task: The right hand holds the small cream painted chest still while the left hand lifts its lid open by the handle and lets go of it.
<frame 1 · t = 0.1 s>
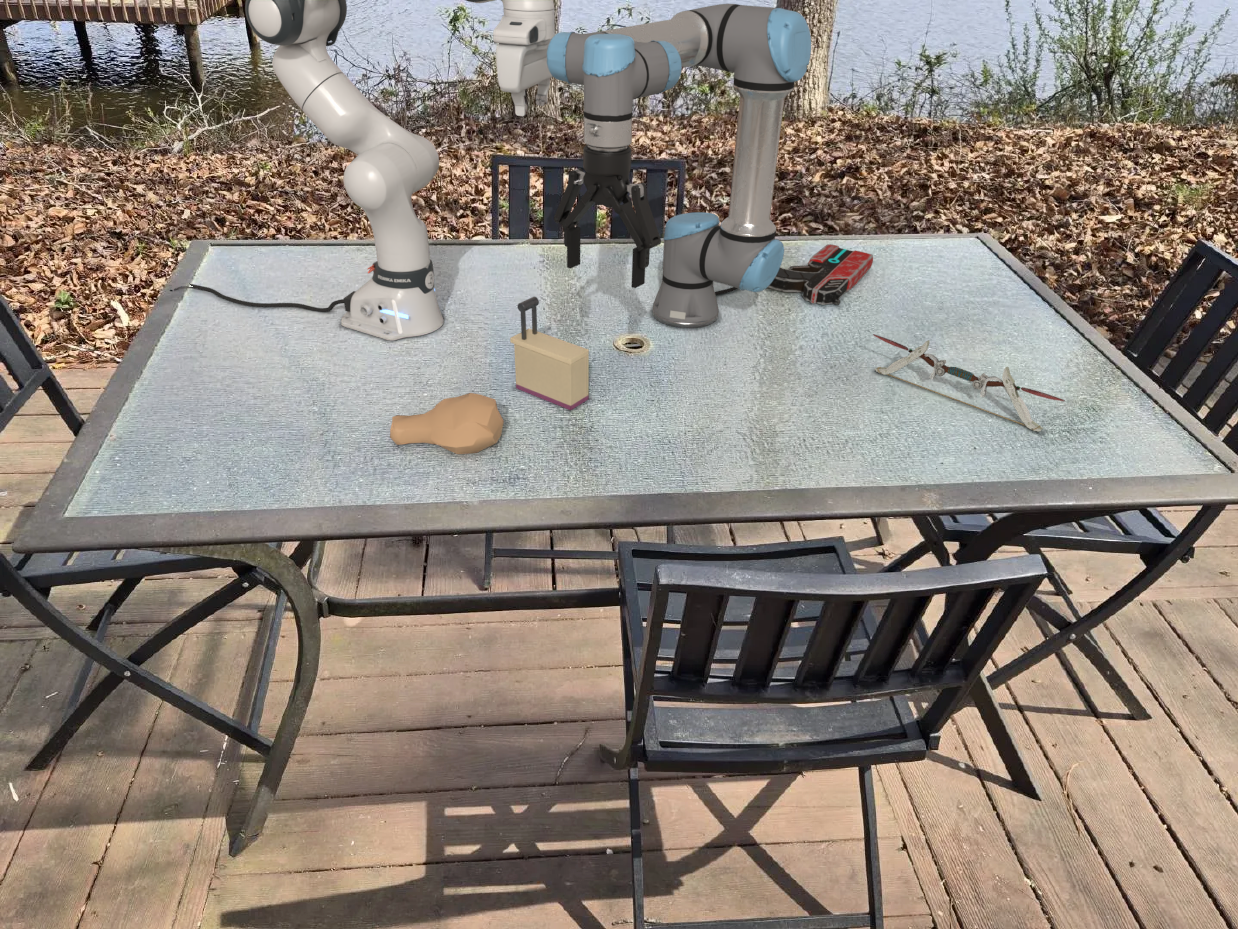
left hand: (531, 109, 161), 48 cm above the table, tool pointing down, fingers open, 8 cm apart
right hand: (605, 275, 148), 28 cm above the table, tool pointing down, fingers open, 13 cm apart
lid: (548, 327, 163), point 14 cm above the table, hinge at 0.0°
chest: (552, 393, 171), on the table
squash: (448, 444, 155), on the table
gun: (820, 281, 223), on the table
bow: (953, 400, 173), on the table
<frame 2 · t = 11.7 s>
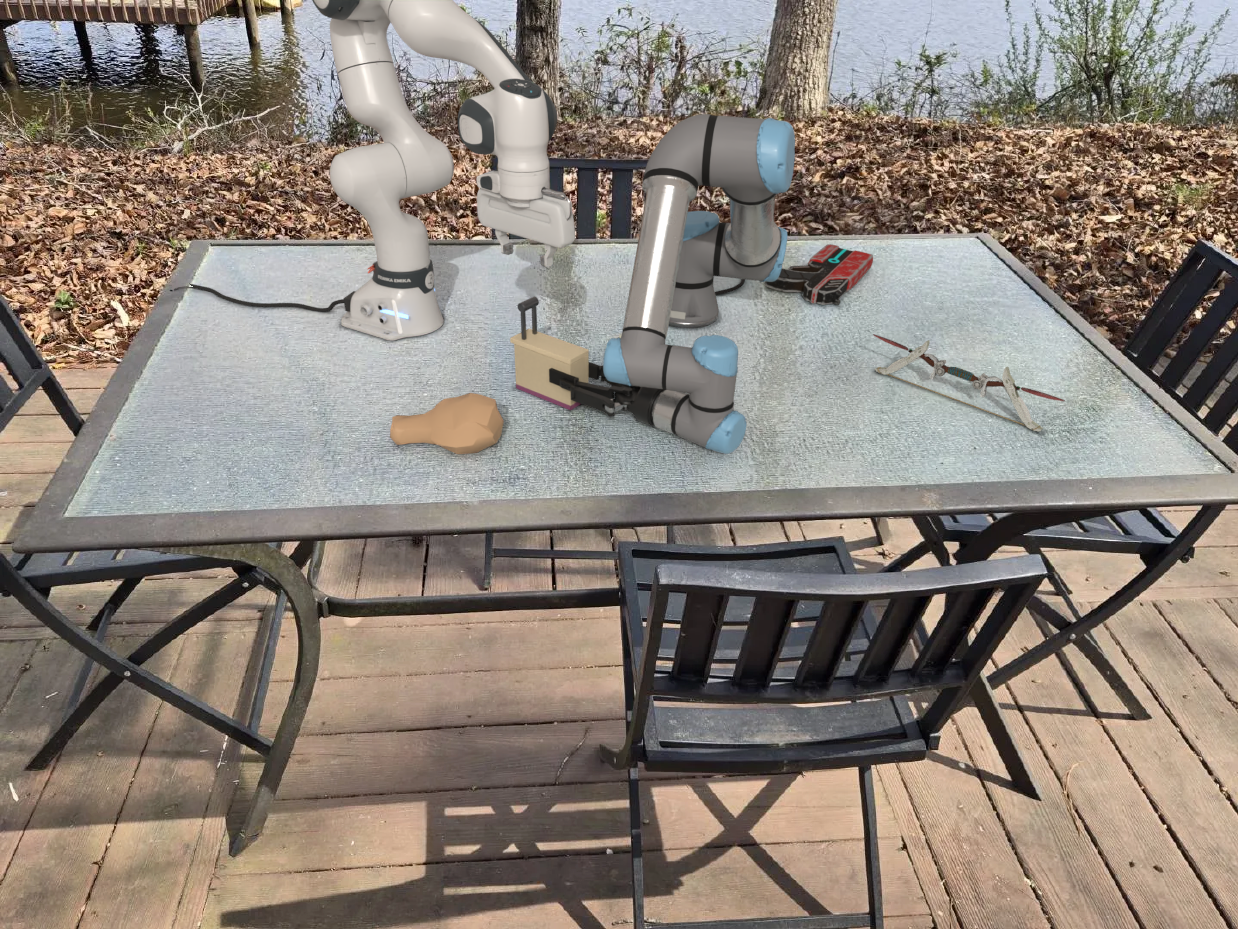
left hand: (526, 259, 159), 26 cm above the table, tool pointing down, fingers open, 8 cm apart
right hand: (561, 368, 166), 6 cm above the table, tool horizontal, fingers closed on chest, 5 cm apart
chest: (552, 393, 171), on the table, touching right hand
everything else where it was.
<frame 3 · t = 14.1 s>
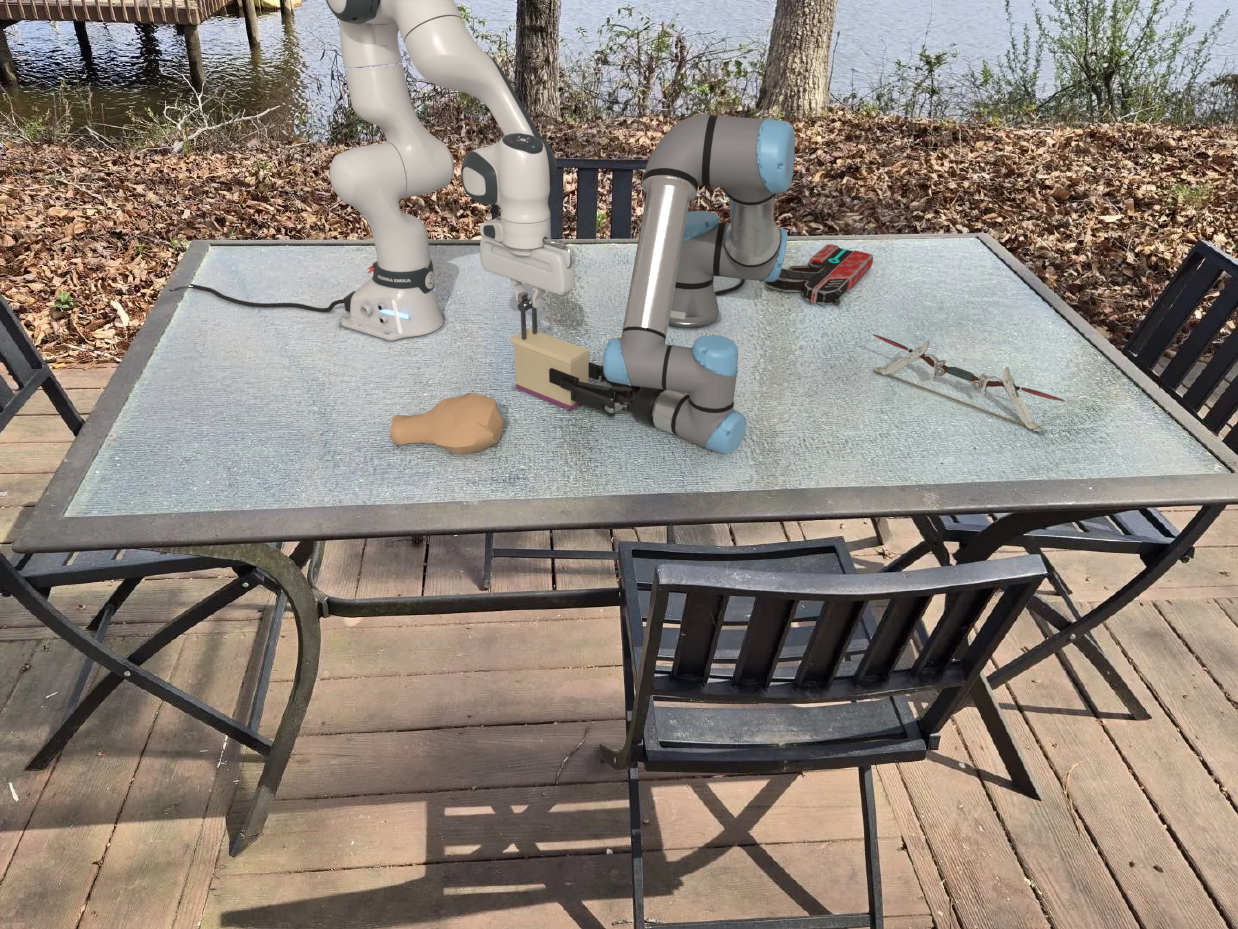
left hand: (528, 303, 164), 17 cm above the table, tool pointing down, fingers closed on lid, 2 cm apart
right hand: (561, 368, 166), 6 cm above the table, tool horizontal, fingers closed on chest, 5 cm apart
lid: (548, 327, 163), point 14 cm above the table, hinge at 0.0°, touching left hand
chest: (552, 393, 171), on the table, touching right hand
everything else where it was.
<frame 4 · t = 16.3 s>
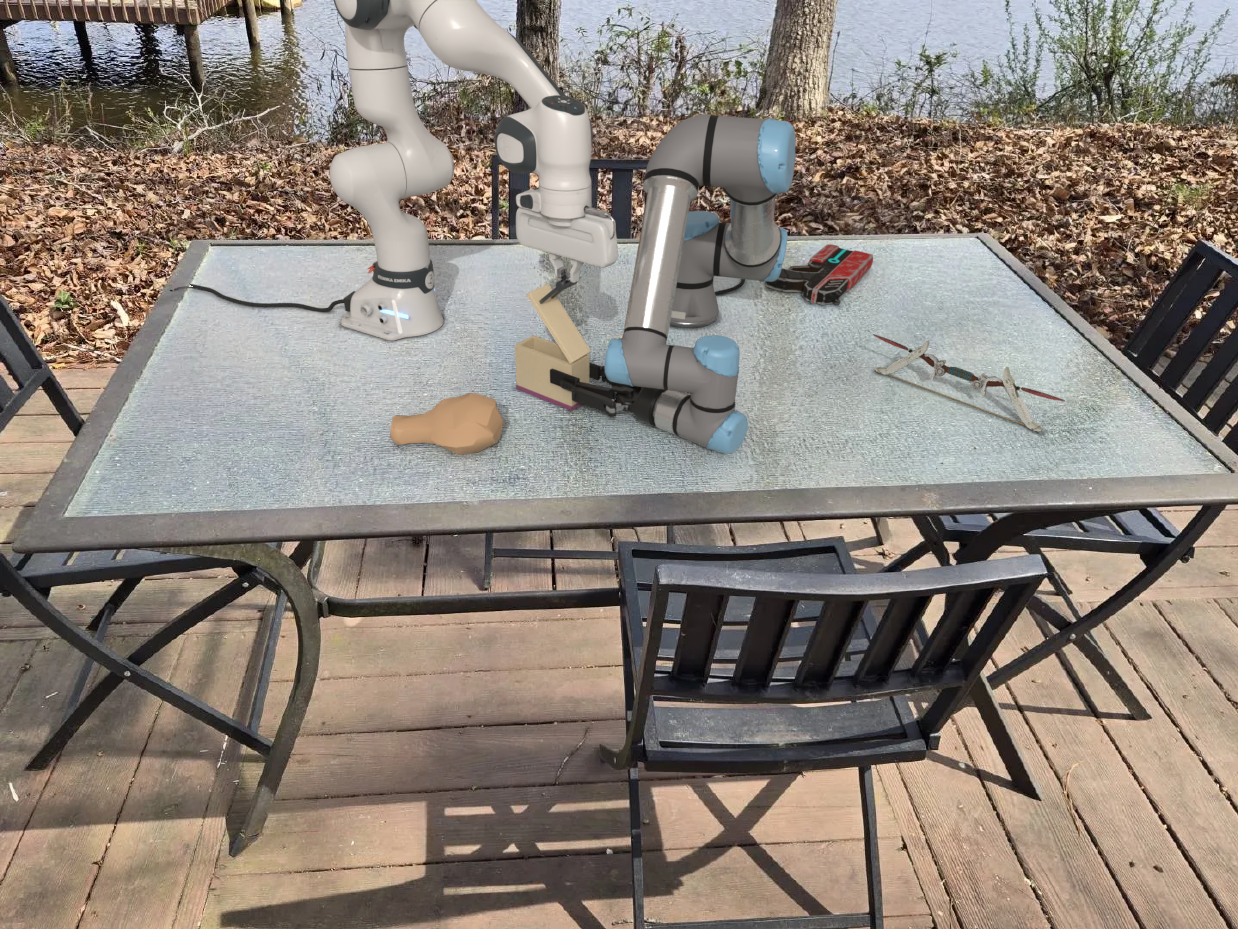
left hand: (566, 279, 155), 25 cm above the table, tool pointing down, fingers closed, pressing on lid
right hand: (561, 369, 166), 6 cm above the table, tool horizontal, fingers closed on chest, 5 cm apart
lid: (570, 314, 158), point 18 cm above the table, hinge at 47.0°, touching left hand
chest: (552, 394, 171), on the table, touching right hand
everything else where it was.
when the right hand's fingers open (6 cm above the table, at t = 21.2 s): chest stays where it is, on the table.
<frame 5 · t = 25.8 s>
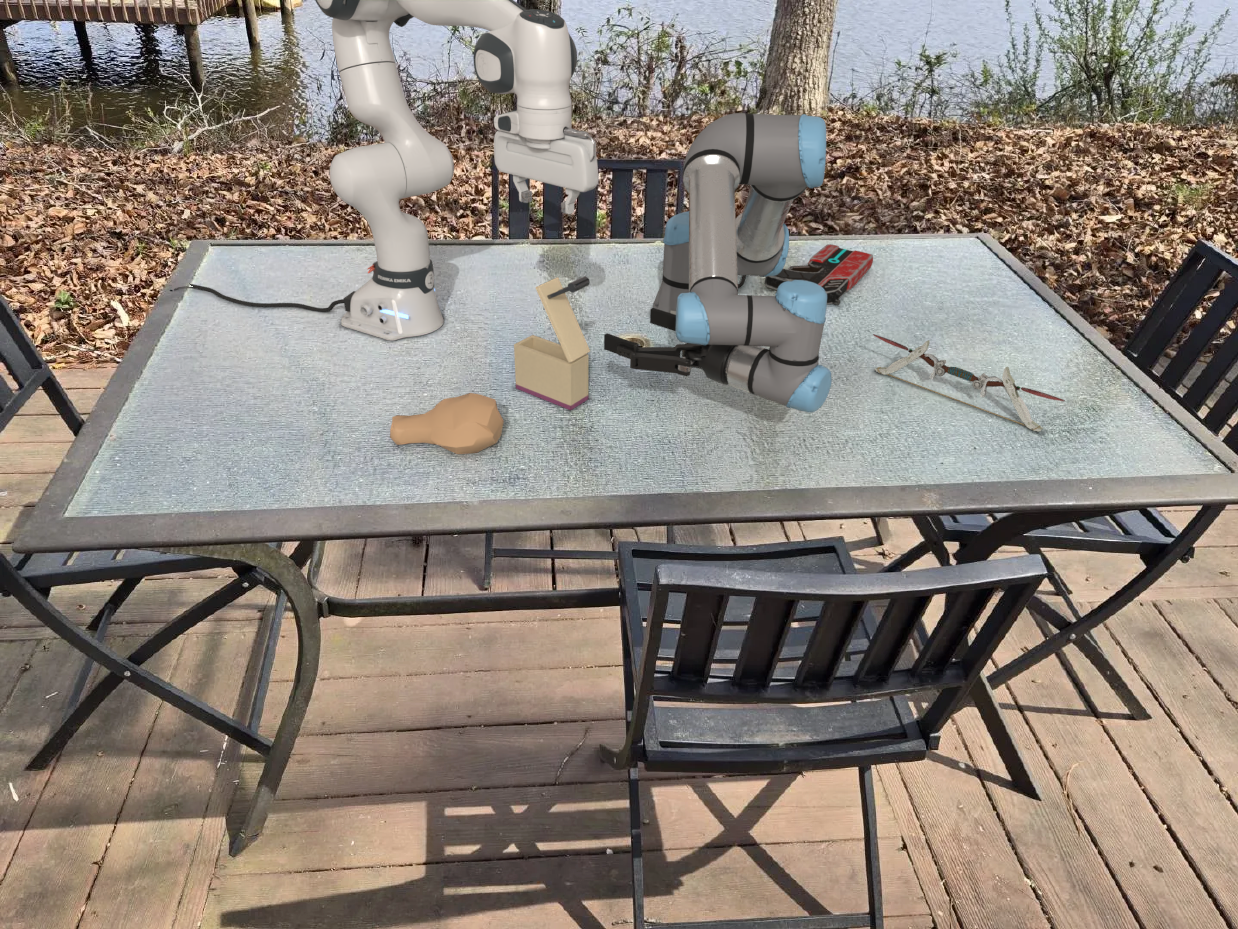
left hand: (546, 207, 151), 36 cm above the table, tool pointing down, fingers open, 8 cm apart
right hand: (628, 327, 152), 19 cm above the table, tool horizontal, fingers open, 13 cm apart
lid: (577, 314, 158), point 18 cm above the table, hinge at 59.3°
chest: (551, 393, 171), on the table
everything else where it was.
at the end: lid at +59° (first picture: +0°); the left hand is holding nothing; the right hand is holding nothing; chest tilted 0°; chest never tilted more than 1° during the clip; chest moved 0.0 cm from its start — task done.
